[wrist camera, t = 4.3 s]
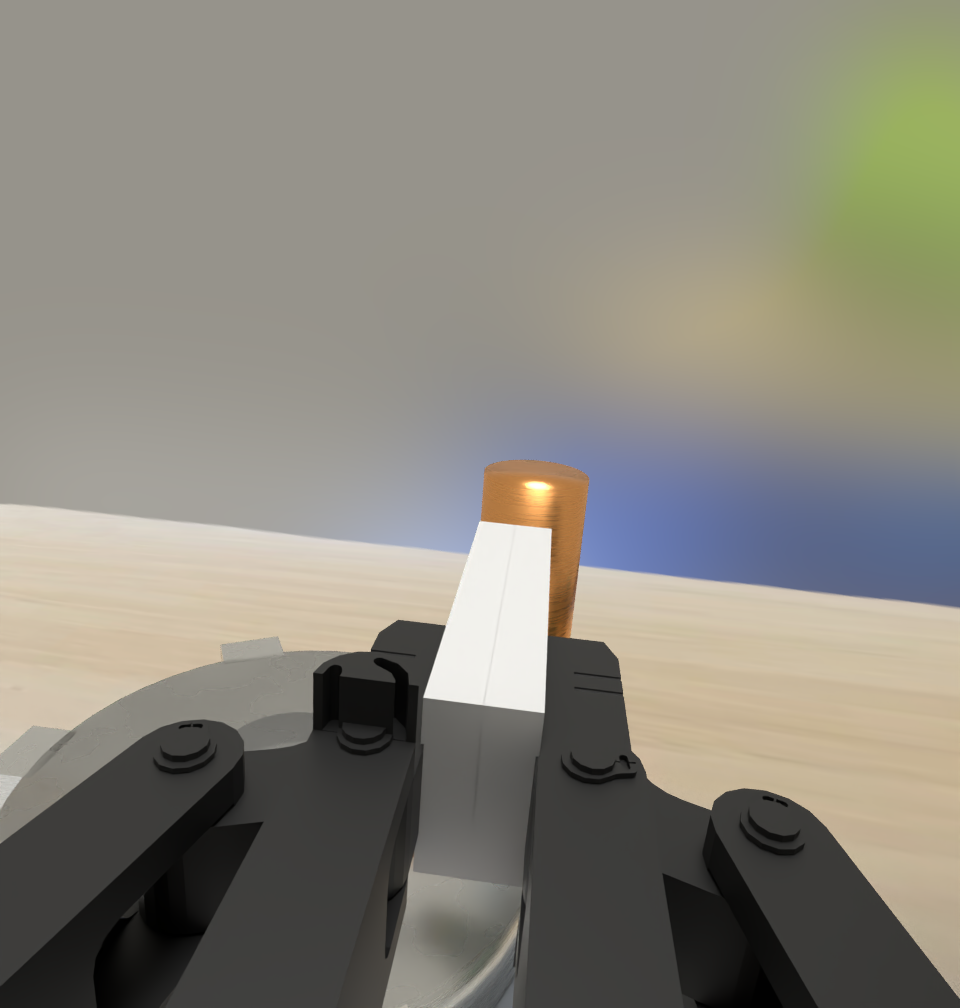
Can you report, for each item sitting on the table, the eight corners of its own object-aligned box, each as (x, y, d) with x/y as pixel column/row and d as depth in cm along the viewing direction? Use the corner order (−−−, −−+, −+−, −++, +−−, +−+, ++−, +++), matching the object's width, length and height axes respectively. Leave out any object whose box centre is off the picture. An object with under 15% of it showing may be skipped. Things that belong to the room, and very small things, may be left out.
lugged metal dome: (-254, 1094, 18) (-467, 528, 13) (155, 675, 36) (129, 373, 31) (590, 1243, 16) (698, 659, 12) (575, 726, 35) (615, 415, 30)
